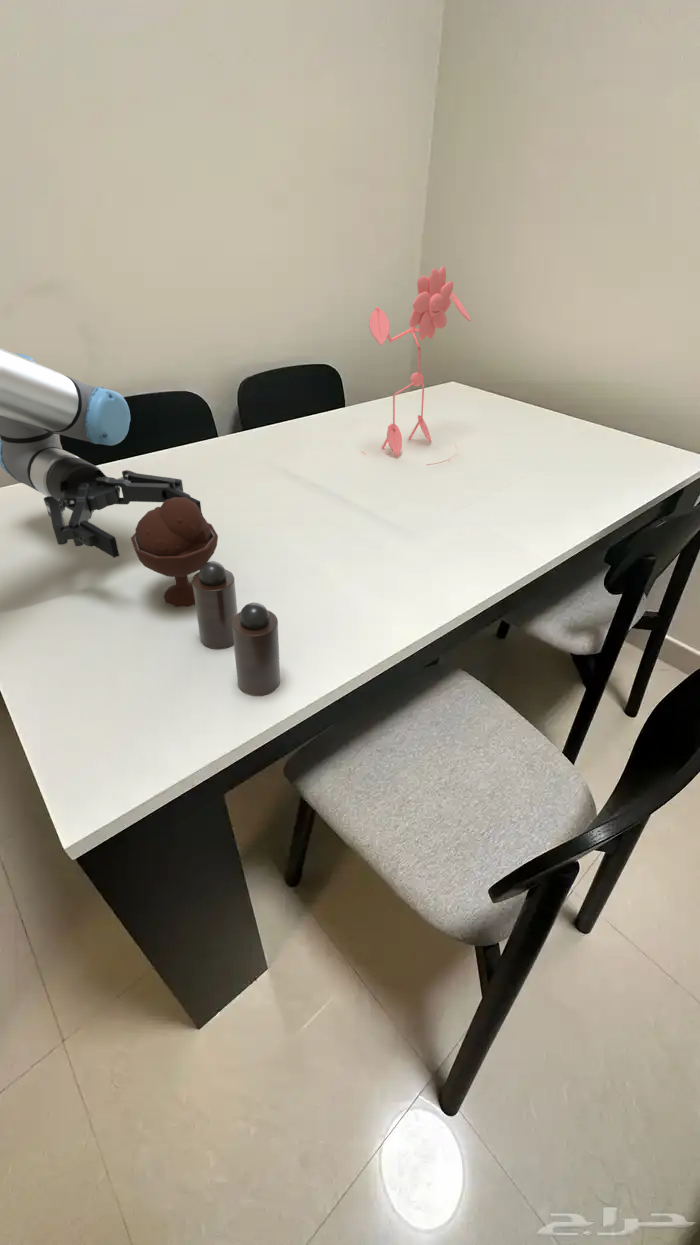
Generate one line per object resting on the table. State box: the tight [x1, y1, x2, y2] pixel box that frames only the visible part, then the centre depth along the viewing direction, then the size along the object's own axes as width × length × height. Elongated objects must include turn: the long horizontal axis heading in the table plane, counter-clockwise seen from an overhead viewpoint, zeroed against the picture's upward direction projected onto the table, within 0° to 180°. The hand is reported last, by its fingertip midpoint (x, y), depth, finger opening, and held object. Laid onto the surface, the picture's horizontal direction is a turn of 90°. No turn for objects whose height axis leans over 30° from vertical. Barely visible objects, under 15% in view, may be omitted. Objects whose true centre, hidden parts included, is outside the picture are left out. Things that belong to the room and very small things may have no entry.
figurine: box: [360, 266, 472, 466], centre depth 117 cm, size 15×26×35 cm, turn 134°
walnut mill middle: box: [191, 560, 239, 650], centre depth 72 cm, size 5×5×11 cm
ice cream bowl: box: [130, 497, 219, 608], centre depth 77 cm, size 11×11×15 cm
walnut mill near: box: [232, 602, 281, 697], centre depth 66 cm, size 5×5×11 cm
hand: (159, 528), depth 77 cm, fingers open, 13 cm apart
